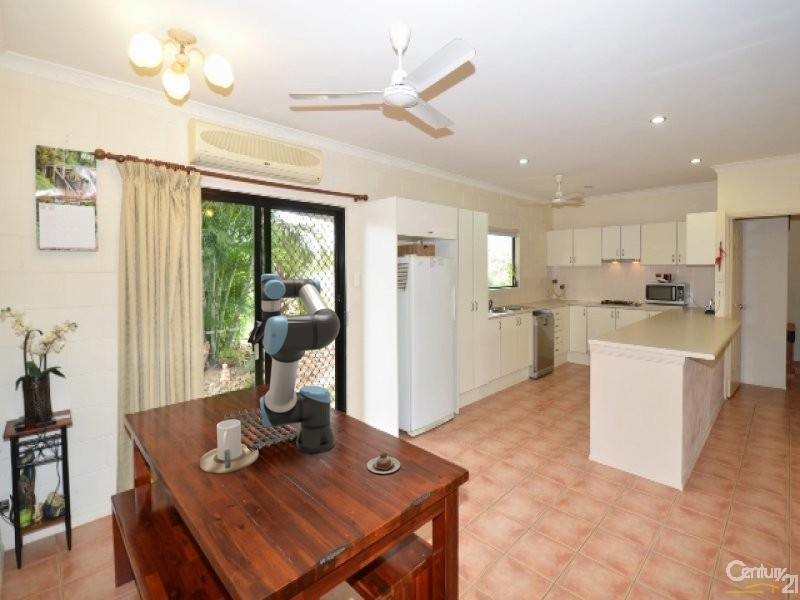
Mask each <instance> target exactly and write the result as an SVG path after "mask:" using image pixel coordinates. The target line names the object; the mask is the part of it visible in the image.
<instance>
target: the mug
mask: <svg viewBox="0 0 800 600" xmlns="http://www.w3.org/2000/svg"><path fill="white" fill-rule="evenodd" d="M241 425H242V423H241V421H240V420H238V419H226V420H222V421H220V422H219V423H217V425H216V436H217V438H216V440H217V442H216V443H217V448H218V455H217V458H218V459H220V460H225V450H228V449H229V450H230V460H232V459H235V458H237V457H239V456H240V455H241V454H242V449H241V444H242V432H241V431H242V429H241Z"/></svg>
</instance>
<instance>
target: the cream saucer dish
mask: <svg viewBox="0 0 800 600" xmlns="http://www.w3.org/2000/svg"><path fill="white" fill-rule="evenodd" d="M245 444H246V443H241V449H242V454H241V455H240V456H239V457H237V458H235V459H232V460H230V450H229V449H228V450H225V460H220V459H218V458H217V455H218V447H216V448H213V449H211V450H209V451H208V452H206V453H204V454H203V455H202V456H201V458H200V460H199V467H200V469H201V470H202V471H204V472H206V473H210V474H225V473H226V474H227V473H231V472H232V473H233V472H236V471H240V470H243V469H245V468H248V467H249V466H251V465H252V464H253V463H255V462H256V461H257V460H258V458H259V455H260V454H259V448H257V450H255V451H253V452H251V451H250V450H249V449H248V448H247V446H246V445H245Z"/></svg>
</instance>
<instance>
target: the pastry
mask: <svg viewBox="0 0 800 600" xmlns="http://www.w3.org/2000/svg"><path fill="white" fill-rule="evenodd" d="M373 466H374V467H375V468H376V469H378V470H383V471H378V470H376V469H375V468H374V467H373ZM392 466H394V467H393V468H392V469H391V470H389V471H386V470H388V469H389V468H390V467H392ZM366 468H367V469H368V470H369V471H370V472H372V473H375V474H381V475H388V474H391V473H395V472H396V471H398V470H399V469H400V468H401V462H400V461H399V459H397V458H395V457H391V456H389V455H388V453H386V452H385V453H383V452H382V453H380V455H379V456H377V457H375V458H372V459H370V460H369V461H368V462H367V463H366ZM384 470H385V471H384Z"/></svg>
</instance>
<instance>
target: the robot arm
mask: <svg viewBox="0 0 800 600" xmlns="http://www.w3.org/2000/svg"><path fill="white" fill-rule="evenodd" d="M280 278H281V277H280V275H279V274H277V273H263V274H261V276H260V286H261V287H260V289H261V291H260V292H261V310H262V311H261V321H259V320H256V321H254V326H253V329H252V330H251V333H250V335H249V337H248V339H247V341H246V342H247V343H248V344H251V349H252V352H254V360H255V361H256V360H259V358H260V355H259V354H260V353H259V352H260V351H259V348H260V347H259V343H258V342H259V340H260V339H261V338H262V337H263V347H264V351H265V353H266V354H268V355H269V356H270V357H271V360H272V361H271V372H270V381H269V382H270V384H269V389H268V390H267V391H266V393H265V395H263V396H261V397H260V398H259V406H260V414H261V419H262V420H261V421H262V425H263V428H266V429H268V428H276V427H284V426H289V425H293V424H299V423H300V428H299V431H298V435H297V438H296V448H297V450H298V451H299V452H302V453H306V454H317V453H318V454H319V453H323V452H326V451H329V450H331V449H332V448H333V447H334V446H335V445H336V436H335V433H334V431H333V428H332V425H331V394H330V391H329V389H327V388H325V387H324V386H323V387H322V386H318V385H305V386H301V387H300V388H299V391H298V392H295V391H296V390H295V388H296V387H295V386H296V380H297V374H298V368H299V361H300V360H301V359H302V358H303V357H304V356H305V353H306V352H308V351H318V350H322V349H324V348H326V347H328V346H330V345H331V344H332V343H333V342H334V341H335V340H336V338H337V337H338V335H339V332H340V328H341V324H340V323H341V322H340V319H339V317H338V315H337V313H336V311H335V310H333V309H331V308H330V307H329V306H328V304H327V303H326V301H325V299H324V298H323V296H322V294H321V291H322V288H321V282H320V280H319V279H317V278H316V279H315V278H313V279H312V278H304V279H303V278H301V279H300V278H299V279H294V278H293V279H280ZM291 298H292V299H296V298H297V299H299V298H300V300H301V303H302V304H303V306H304V308H305V310H306V312H307V314H296V315H295V314H294V315H283V314H281V310H280V309H281V299H291ZM261 326H262V329H261V331H260V332H259V333H258V334H257V332H258V330H259V328H260V327H261ZM256 334H257V335H256ZM255 336H256V337H255Z"/></svg>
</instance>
